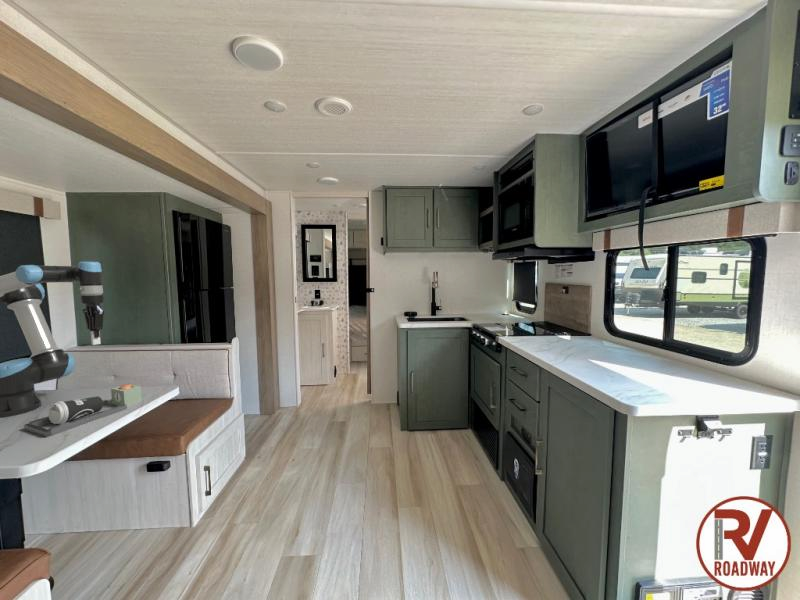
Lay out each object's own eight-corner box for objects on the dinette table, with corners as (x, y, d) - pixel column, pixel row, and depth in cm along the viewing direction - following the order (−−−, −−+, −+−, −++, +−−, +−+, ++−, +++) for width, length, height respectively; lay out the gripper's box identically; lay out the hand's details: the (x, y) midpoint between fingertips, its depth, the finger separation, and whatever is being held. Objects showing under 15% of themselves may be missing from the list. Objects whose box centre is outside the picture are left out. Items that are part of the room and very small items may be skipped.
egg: (119, 398, 151) (118, 386, 151) (128, 395, 155) (128, 383, 154) (124, 399, 150) (123, 387, 149) (134, 396, 153) (133, 384, 153)
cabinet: (110, 405, 151) (109, 389, 150) (129, 399, 158) (128, 383, 157) (123, 408, 147) (122, 391, 146) (141, 402, 154) (140, 386, 153)
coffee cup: (107, 400, 143) (64, 410, 128) (100, 418, 144) (57, 430, 129) (95, 389, 145) (51, 398, 131) (88, 406, 146) (44, 417, 132)
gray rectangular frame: (24, 429, 127) (23, 423, 127) (105, 404, 151) (104, 399, 151) (46, 437, 121) (45, 431, 120) (127, 409, 145) (126, 404, 145)
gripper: (73, 294, 147) (78, 344, 149) (89, 295, 142) (94, 347, 144) (94, 294, 154) (98, 341, 155) (110, 294, 149) (113, 343, 151)
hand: (96, 344), depth 150 cm, fingers closed
